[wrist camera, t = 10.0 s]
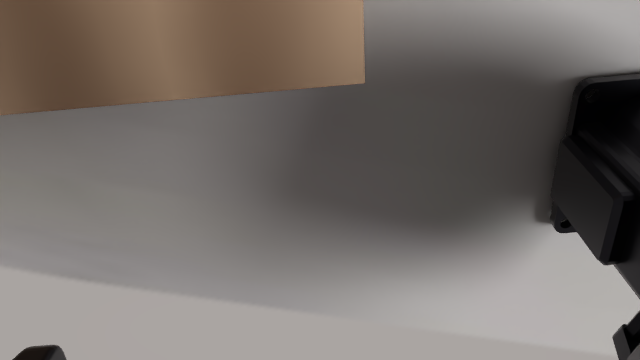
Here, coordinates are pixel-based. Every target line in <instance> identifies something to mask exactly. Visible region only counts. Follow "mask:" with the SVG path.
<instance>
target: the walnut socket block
mask: <svg viewBox="0 0 640 360" xmlns="http://www.w3.org/2000/svg"><path fill="white" fill-rule="evenodd" d="M362 83H365V62H364V17H363V0H0V115H8V114H19V113H31V112H42V111H54V110H65V109H76V108H88V107H99V106H111V105H122V104H134V103H145V102H156V101H168V100H179V99H191V98H202V97H214V96H225V95H237V94H248V93H259V92H271V91H282V90H294V89H305V88H317V87H328V86H339V85H351V84H362Z"/></svg>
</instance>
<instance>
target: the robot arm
mask: <svg viewBox="0 0 640 360" xmlns="http://www.w3.org/2000/svg"><path fill="white" fill-rule="evenodd" d="M593 89H595V91H594V93H593V95H592V96H590V97H588V98H586V95H587V93H588V92H589V91H590V90H593ZM551 197H552V199H553V206H552V211H551V216H550V222H551V224H552V225H553V227H554V228H555V230H556V231H557V232H559V233H571V232H577V233H578V234H579V235H580V237H581V238H582V239H583V241H584V242H585V244H586V245H587V246H588V248H589V249H590V250H591V252H592V253H593V254H594V256H595V257H596V258H597V260H599V261H600V262H601V263H602V264H603V265H612V264H613V265H614V266H615V267H616V269H617V270H618V271H619V273H620V274H621V275H622V277H623V278H624V279H625V280H626V282H627V283H628V284H629V286H630V287H631V288H632V290H633V291H634V292H635V294H636V295H637V296H638V298H639V299H640V74H631V75H620V76H609V77H597V78H589V79H585V80H583V81H582V82H580V83H579V84H578V85H577V86H576V88H575V90H574V93H573V98H572V104H571V109H570V114H569V120H568V125H567V131H566V136H565V137H564V138H563V139H562V141H561V142H560V146H559V152H558V157H557V163H556V168H555V174H554V179H553V185H552V190H551ZM566 218H567V220H566V221H564V222H561V221H562V220H564V219H566ZM613 341H614V345H615V348H616V351H617V355H618V358H619V360H640V311H639V312H638V313H637V314H636V315H635V316H634V317H633V319H632V320H631V321H630V322H629V323H628V324H627V325H626V324H623V325H622V326H621V327H620V328H619V329H618V331H617V332H616V333H615V334H614V335H613ZM13 360H66V357H65V355H64V352H63V351H62V349H61V348H60V347H59V346H57V345H45V346H33V347H28V348H26V349H24V350H23V351H22V352H20V353H19V354H18V355H17V356H16V357H15V358H14V359H13Z"/></svg>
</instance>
